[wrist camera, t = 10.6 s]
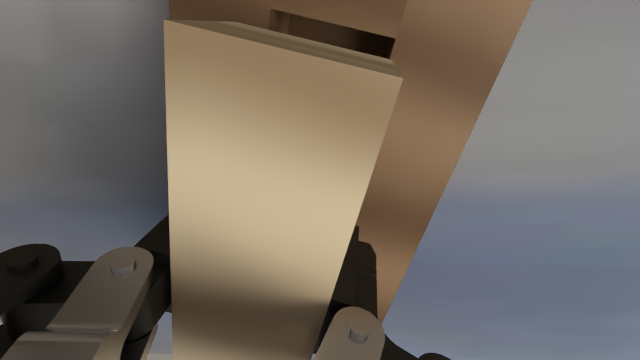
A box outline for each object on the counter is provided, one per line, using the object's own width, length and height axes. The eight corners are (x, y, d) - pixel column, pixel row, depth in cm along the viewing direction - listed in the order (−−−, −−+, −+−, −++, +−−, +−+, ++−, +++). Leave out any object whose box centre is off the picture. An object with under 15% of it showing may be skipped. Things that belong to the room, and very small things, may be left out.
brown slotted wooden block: (222, -94, 13) (166, -140, 9) (504, -30, 12) (556, -52, 9) (207, 257, 22) (176, 301, 19) (367, 301, 22) (367, 354, 18)
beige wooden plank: (284, 23, 12) (163, 19, 5) (383, 47, 12) (403, 78, 5) (251, 264, 18) (175, 417, 11) (316, 282, 18) (281, 448, 11)
